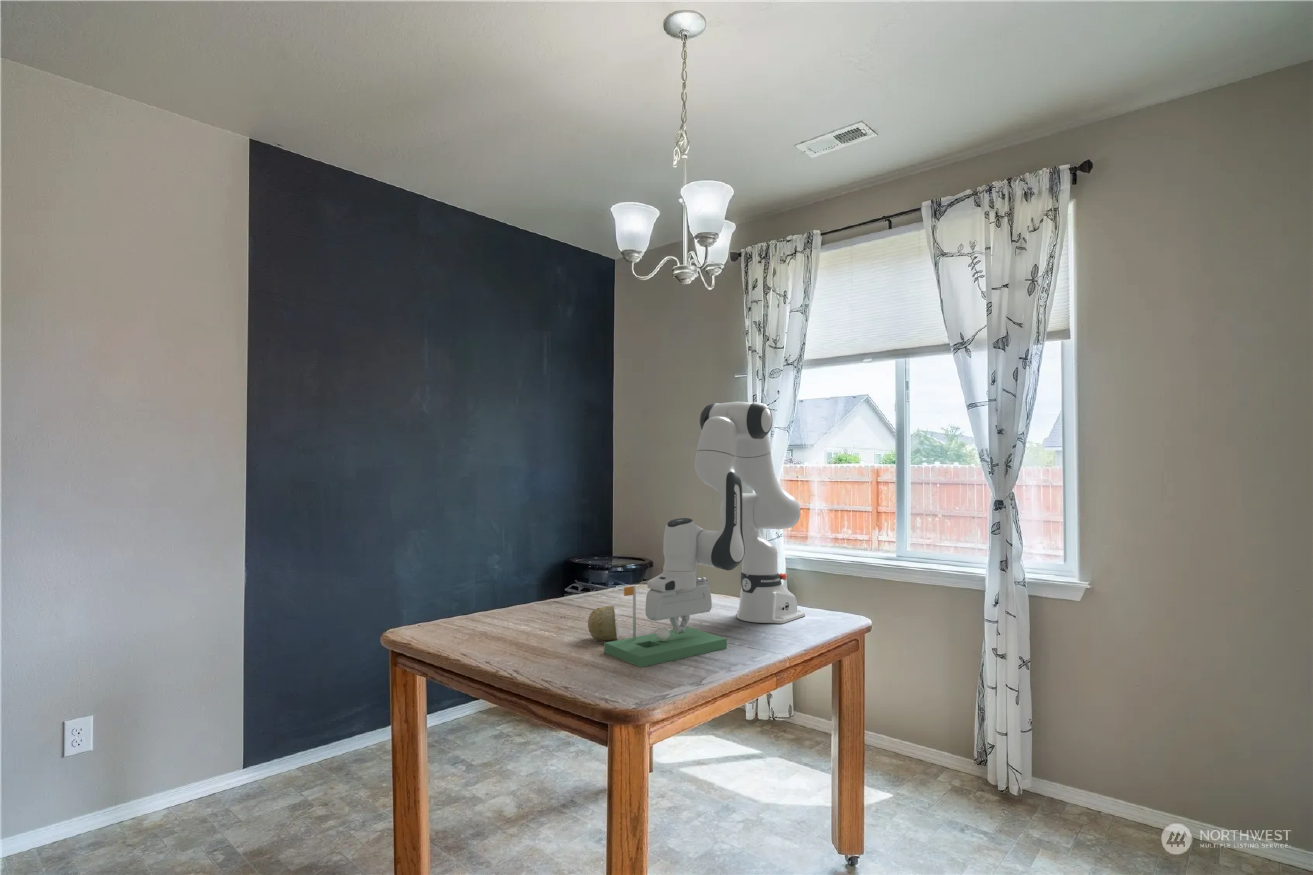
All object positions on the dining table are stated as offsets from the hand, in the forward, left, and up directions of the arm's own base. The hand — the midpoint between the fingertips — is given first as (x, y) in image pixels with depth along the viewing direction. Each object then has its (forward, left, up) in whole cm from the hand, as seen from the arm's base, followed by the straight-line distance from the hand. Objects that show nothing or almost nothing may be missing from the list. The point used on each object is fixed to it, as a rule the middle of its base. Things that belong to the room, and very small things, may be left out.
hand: (679, 633), depth 182 cm
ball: (+5, 0, 0) cm, 5 cm away
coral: (+11, -19, -4) cm, 23 cm away
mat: (+4, 0, -4) cm, 6 cm away
